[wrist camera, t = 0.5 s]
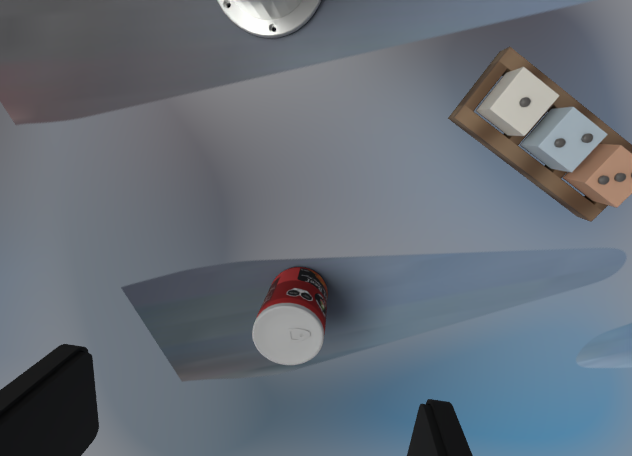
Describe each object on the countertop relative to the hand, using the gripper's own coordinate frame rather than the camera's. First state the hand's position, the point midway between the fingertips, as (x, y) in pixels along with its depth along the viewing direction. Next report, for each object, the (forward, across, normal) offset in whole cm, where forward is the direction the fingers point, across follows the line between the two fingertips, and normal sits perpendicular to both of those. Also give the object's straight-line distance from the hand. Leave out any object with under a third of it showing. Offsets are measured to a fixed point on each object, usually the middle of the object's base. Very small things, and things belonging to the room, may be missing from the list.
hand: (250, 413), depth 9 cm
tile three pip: (+33, -30, -7) cm, 45 cm away
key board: (+35, -24, -10) cm, 43 cm away
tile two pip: (+33, -25, -10) cm, 42 cm away
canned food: (+35, +2, +14) cm, 38 cm away
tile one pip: (+32, -19, -13) cm, 40 cm away
